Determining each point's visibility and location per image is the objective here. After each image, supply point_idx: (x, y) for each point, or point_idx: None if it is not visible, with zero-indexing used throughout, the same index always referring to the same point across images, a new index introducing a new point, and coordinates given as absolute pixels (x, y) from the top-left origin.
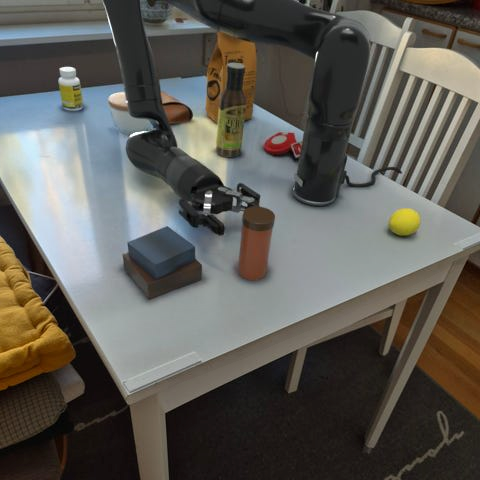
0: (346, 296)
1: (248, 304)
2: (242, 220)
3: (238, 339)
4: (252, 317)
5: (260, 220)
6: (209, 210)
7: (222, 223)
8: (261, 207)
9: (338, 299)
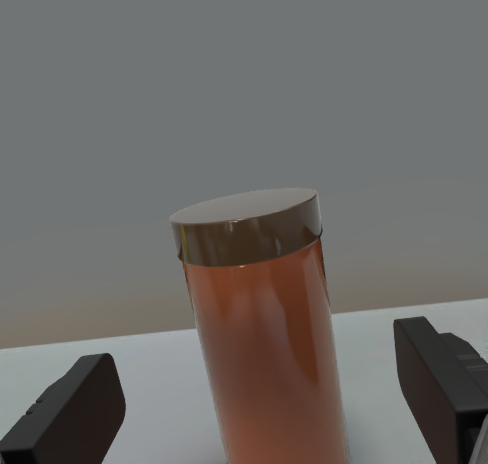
0: (156, 334)
1: (385, 362)
2: (316, 228)
3: (451, 306)
4: (393, 335)
5: (266, 193)
6: (482, 458)
7: (403, 321)
8: (183, 222)
9: (177, 332)
